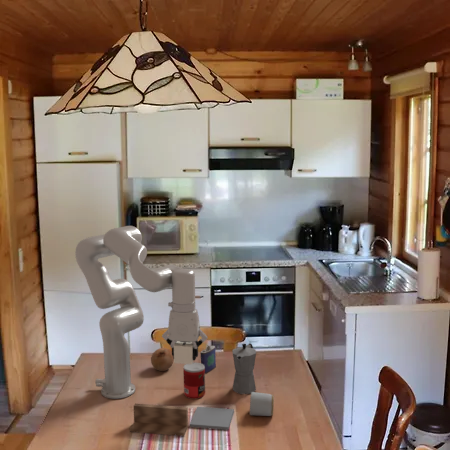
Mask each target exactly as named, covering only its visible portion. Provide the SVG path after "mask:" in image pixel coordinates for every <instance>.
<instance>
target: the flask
mask: <svg viewBox="0 0 450 450" xmlns="http://www.w3.org/2000/svg"><path fill="white" fill-rule="evenodd" d="M206 346H207V347H206V348H205V349H202V350H201V351H200V363H201V364H203V365H204V366H205V375H206V374H208V373H211V371H213V370H214V369H216V368H217V367H216V365H217V364H216V362H217V360H216V358H217V357H216V346H215V345H209V344H206Z"/></svg>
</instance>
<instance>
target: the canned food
mask: <svg viewBox="0 0 450 450" xmlns="http://www.w3.org/2000/svg"><path fill="white" fill-rule="evenodd" d="M182 369H183V394H184V396H185V397H186V398H188V399H192V400H194V399H201V398H203V397H204V396H205V394H206V374H205V366H204V365H203V364H201V362H194V361H193V363H192V364H183V368H182Z"/></svg>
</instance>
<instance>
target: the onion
mask: <svg viewBox="0 0 450 450" xmlns="http://www.w3.org/2000/svg"><path fill="white" fill-rule="evenodd" d="M150 363H151V365H152V367H153V369H154V370H157V371H160V372H165V371H168V370H169V369H170V368H171V367H172V366H173V364H174V359H173V356H172V350H170V349H168V348H167V347H161V348H160V347H159V348H158V349H156V350H154V352H153V353H152V354H151V357H150Z"/></svg>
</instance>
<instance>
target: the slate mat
mask: <svg viewBox="0 0 450 450" xmlns="http://www.w3.org/2000/svg"><path fill="white" fill-rule="evenodd" d="M234 413H235V409H233V408H222V407H208V406H207V407H206V406H197V407H196V408H195V411H194V414H193V416H192V418H191V420H190V421H189V428H198V427H199V428H198V429H209V428H211V429H213V430H224V431H228V430H229V429H230V426H231V423H232V420H233V416H234ZM200 427H201V428H200ZM229 431H230V430H229Z"/></svg>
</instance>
